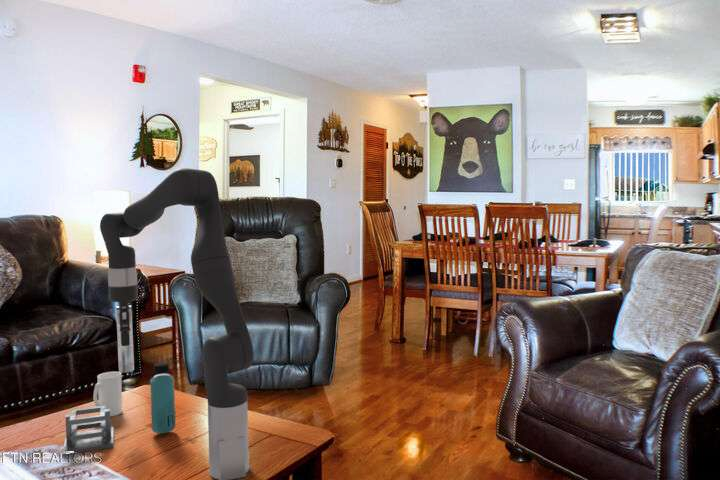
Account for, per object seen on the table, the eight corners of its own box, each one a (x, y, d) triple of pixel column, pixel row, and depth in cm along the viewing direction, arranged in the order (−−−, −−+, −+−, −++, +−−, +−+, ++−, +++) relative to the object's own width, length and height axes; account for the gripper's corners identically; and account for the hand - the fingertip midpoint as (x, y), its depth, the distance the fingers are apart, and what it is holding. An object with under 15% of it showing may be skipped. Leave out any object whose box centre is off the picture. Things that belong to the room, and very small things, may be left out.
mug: (109, 408, 184) (108, 370, 183) (127, 410, 181) (126, 372, 181) (85, 419, 174) (83, 380, 173) (104, 422, 172) (102, 382, 171)
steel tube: (134, 371, 165) (131, 308, 163) (118, 373, 163) (115, 309, 162) (134, 367, 168) (131, 305, 167) (118, 369, 167) (116, 307, 166)
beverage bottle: (168, 439, 159) (166, 367, 158) (146, 437, 161) (144, 366, 159) (180, 430, 166) (178, 360, 164) (159, 428, 167) (156, 359, 165)
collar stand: (113, 447, 154) (112, 417, 154) (62, 455, 150) (61, 424, 149) (113, 430, 166) (112, 402, 165) (66, 437, 161) (65, 408, 160)
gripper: (138, 286, 159) (140, 348, 160) (136, 279, 172) (138, 337, 173) (108, 287, 156) (110, 351, 157) (108, 281, 169) (111, 339, 170)
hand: (125, 343), depth 165 cm, fingers closed on steel tube, 4 cm apart
